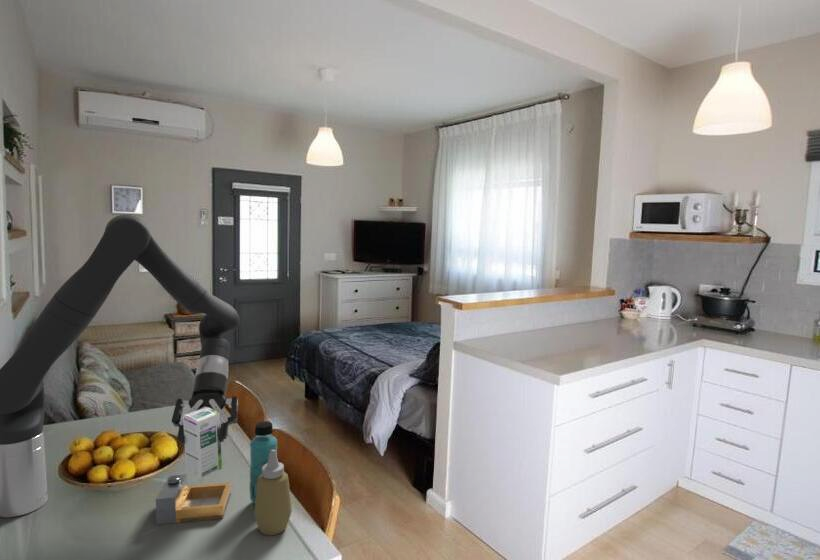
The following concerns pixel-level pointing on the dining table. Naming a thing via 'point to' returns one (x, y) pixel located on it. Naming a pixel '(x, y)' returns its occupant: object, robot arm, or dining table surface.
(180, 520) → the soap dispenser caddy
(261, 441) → the beverage bottle
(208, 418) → the syrup box
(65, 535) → the dining table surface
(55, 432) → the dining table surface
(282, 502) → the squeeze bottle
